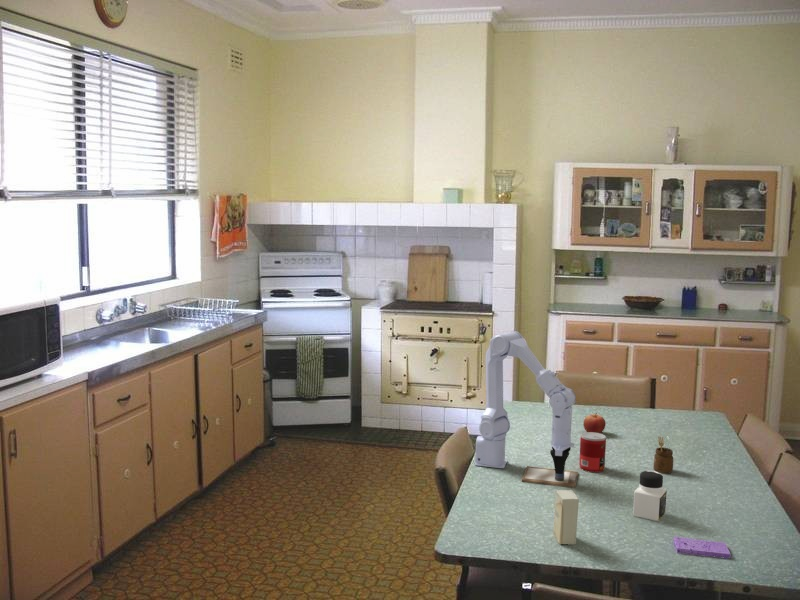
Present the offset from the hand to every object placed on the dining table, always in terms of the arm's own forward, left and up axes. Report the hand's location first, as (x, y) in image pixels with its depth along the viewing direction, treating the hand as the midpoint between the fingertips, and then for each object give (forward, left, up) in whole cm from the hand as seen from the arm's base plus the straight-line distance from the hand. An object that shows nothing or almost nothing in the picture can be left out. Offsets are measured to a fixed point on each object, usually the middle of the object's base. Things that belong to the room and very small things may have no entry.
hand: (559, 471), depth 242 cm
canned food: (+9, +16, -3) cm, 19 cm away
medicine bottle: (+26, -18, -3) cm, 32 cm away
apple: (+8, +56, -3) cm, 57 cm away
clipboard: (-3, +3, -3) cm, 5 cm away
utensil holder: (+31, +21, -3) cm, 38 cm away
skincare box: (+5, -42, -3) cm, 42 cm away
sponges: (+38, -37, -4) cm, 53 cm away
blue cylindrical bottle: (0, 0, -2) cm, 2 cm away
